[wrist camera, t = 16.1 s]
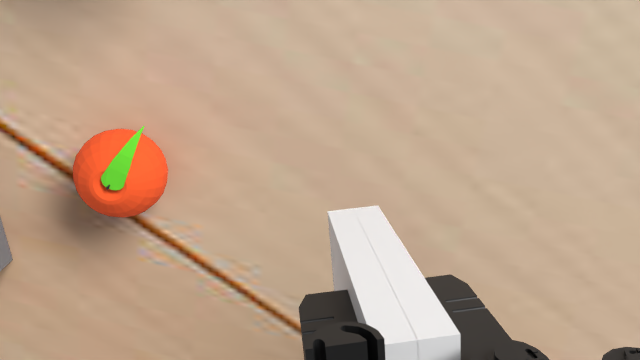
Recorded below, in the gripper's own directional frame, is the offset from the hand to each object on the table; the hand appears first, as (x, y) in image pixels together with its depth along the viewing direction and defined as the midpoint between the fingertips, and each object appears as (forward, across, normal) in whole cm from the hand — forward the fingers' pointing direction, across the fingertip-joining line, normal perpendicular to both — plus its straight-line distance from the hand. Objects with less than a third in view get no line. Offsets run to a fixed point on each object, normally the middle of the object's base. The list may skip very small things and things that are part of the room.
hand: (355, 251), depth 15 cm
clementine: (+30, +14, +3) cm, 33 cm away
